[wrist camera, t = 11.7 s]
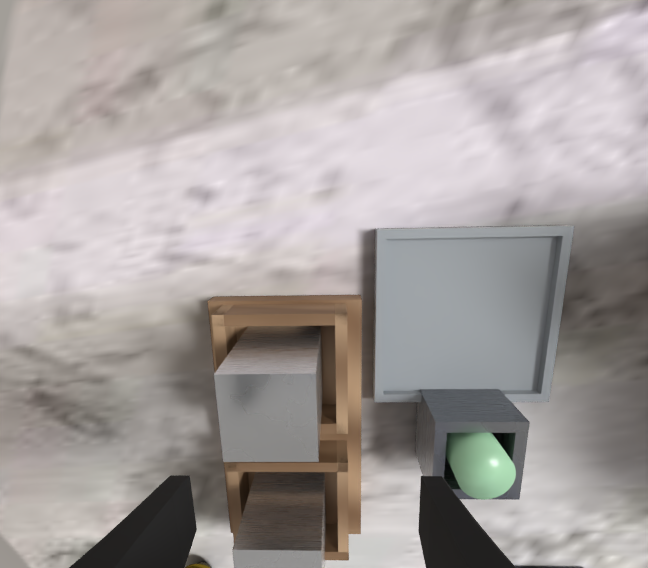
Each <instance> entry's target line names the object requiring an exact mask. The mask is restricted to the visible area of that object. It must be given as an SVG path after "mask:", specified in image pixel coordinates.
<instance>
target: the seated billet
mask: <svg viewBox="0 0 648 568" xmlns="http://www.w3.org/2000/svg"><path fill="white" fill-rule="evenodd" d="M325 528H326V499H325V472H255V475H254V479H253V482H252V485H251V489H250V492H249V496H248V499H247V502H246V506H245V509H244V512H243V516H242V519H241V523H240V526H239V529H238V533H237V536H236V539H235V543H234V546H233V560H234V568H325Z"/></svg>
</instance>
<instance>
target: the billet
mask: <svg viewBox="0 0 648 568" xmlns="http://www.w3.org/2000/svg"><path fill="white" fill-rule="evenodd" d="M214 381H215V391H216V400H217V409H218V419H219V428H220V437H221V447H222V456H223V462H319V446H320V429H321V412H322V394H323V383H322V348H321V325H320V326H248V328H247V329H246V331H245V332H244V333H243V335H242V336H241V337H240V339H239V340H238V342H237V343H236V344H235V346H234V347H233V349H232V350H231V351H230V353H229V354H228V355H227V357H226V358H225V360H224V361H223V362H222V364H221V365H220V367H219V368H218V369H217V371H216V372H215V373H214Z"/></svg>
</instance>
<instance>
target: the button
mask: <svg viewBox="0 0 648 568" xmlns="http://www.w3.org/2000/svg"><path fill="white" fill-rule="evenodd" d="M445 456H446V458H447V460H448V462H449V464H450V467H451V469H452V471H453V473H454V475H455V477H456V480H457V482H458V484H459V486H460V488H461V489H462V491H463V492H464V493H466V494H467V495H469V496H471V497H473V498H476V499H492V498H496V497H498V496H500V495H502V494H504V493H505V492H506V491H508V490H509V489H510V487H511V486H512V485H513V483H514V480H515V477H516V469H515V466H514V464H513V462H512V461H511V459H510V458H509V456H508V455H507V453H506V452H505V451H504V449H503V448H502V446H501V445H500V444H499V442H498V441H497V439H496V438H495V437H494V435H493V434H492V433H447V441H446V455H445Z"/></svg>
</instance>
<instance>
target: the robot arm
mask: <svg viewBox="0 0 648 568" xmlns="http://www.w3.org/2000/svg"><path fill="white" fill-rule="evenodd" d="M196 530H197V528H196V521H195V513H194V506H193V498H192V491H191V483H190V476H170V477H168V478H167V479H166V480H165V481H164V482H163V483H162V484H161V485H160V486H159V487H158V488H157V489H156V490H154V491H153V492H152V493H151V494H150V495H149V496H148V497H147V498H146V499H145V500H144V501H143V502H142V503H141V504H140V505H139V506H138V507H137V508H135V509H134V510H133V511H132V512H131V513H130V514H129V515H128V516H127V517H126V518H125V519H124V520H123V521H122V522H120V523H119V524H118V525H117V526H116V527H115V528H114V529H113V530H112V531H111V532H110V533H108V534H107V535H106V536H105V537H104V538H103V539H102V540H101V541H100V542H98V543H97V544H96V545H95V546H94V547H93V548H91V549H90V550H89V551H88V552H87V553H86V554H85V555H83V556H82V557H81V558H80V559H79V560H78V561H76V562H75V563H74V564H73V565H72V566H71V567H70V568H184V567H185V564H186V561H187V558H188V555H189V552H190V549H191V546H192V542H193V539H194V536H195V533H196ZM419 535H420V540H421V545H422V550H423V555H424V560H425V564H426V568H516V567H515V566H514V565H513V564H512V563H511V561H510V560H509V559H508V558H507V557H506V556H505V555H504V553H503V552H502V551H501V550H500V549H499V548H498V546H497V545H496V544H495V543H494V542H493V540H492V539H491V538H490V537H489V536H488V535H487V533H486V532H485V531H484V530H483V529H482V527H481V526H480V525H479V524H478V522H477V521H476V520H475V519H474V517H473V516H472V515H471V514H470V512H469V511H468V510H467V508H466V507H465V506H464V505H463V503H462V502H461V501H460V499H459V498H458V497H457V495H456V494H455V493H454V491H453V490H452V489H451V487H450V486H449V485H448V483H447V482H446V481H445V479H444V478H443V477H442V476H421V490H420V512H419Z"/></svg>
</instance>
